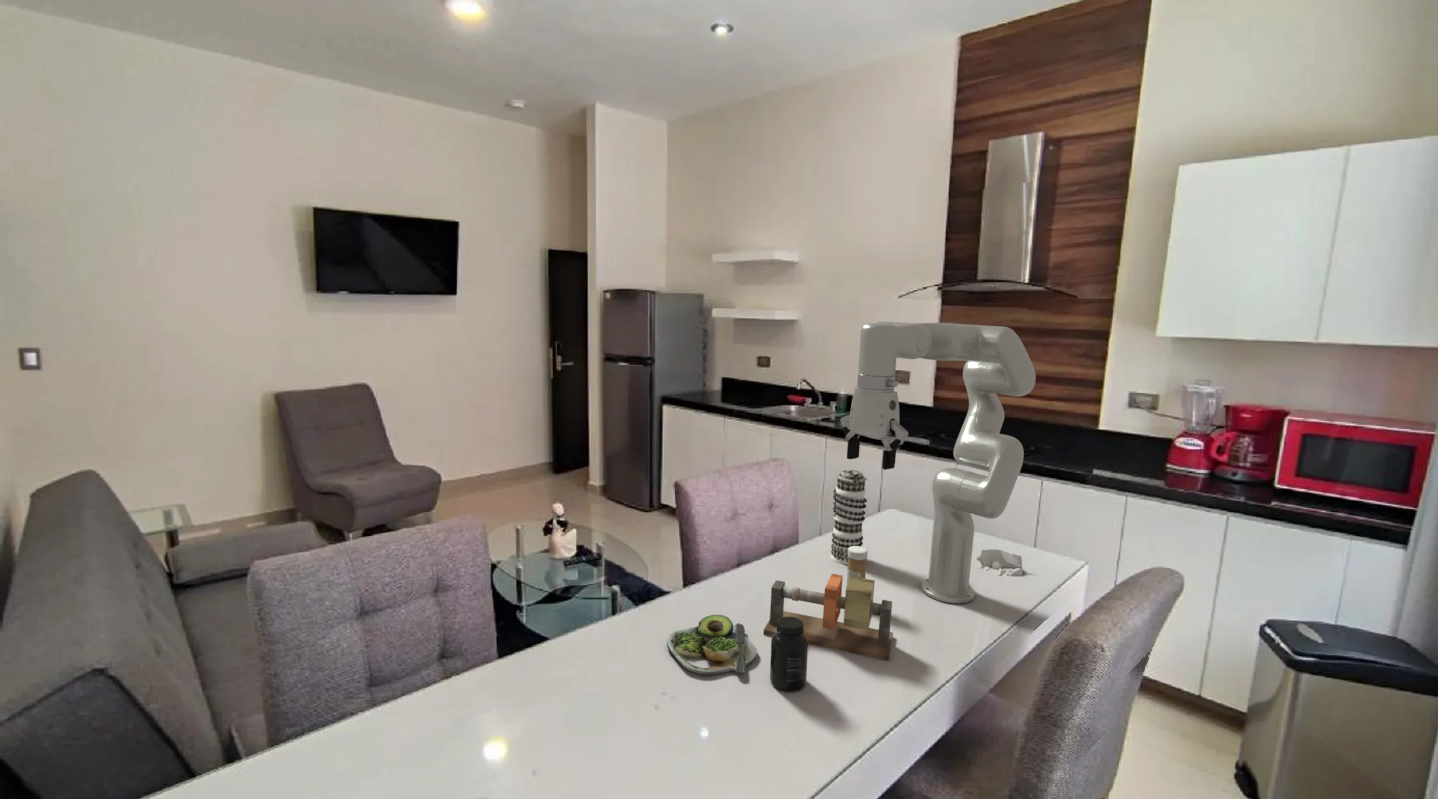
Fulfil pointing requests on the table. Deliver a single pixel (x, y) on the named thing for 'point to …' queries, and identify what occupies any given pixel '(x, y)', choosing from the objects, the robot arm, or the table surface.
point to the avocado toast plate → (713, 646)
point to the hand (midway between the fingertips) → (870, 463)
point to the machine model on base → (841, 636)
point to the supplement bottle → (789, 655)
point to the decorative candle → (848, 514)
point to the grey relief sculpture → (1000, 561)
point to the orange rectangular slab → (832, 601)
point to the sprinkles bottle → (856, 562)
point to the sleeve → (858, 603)
